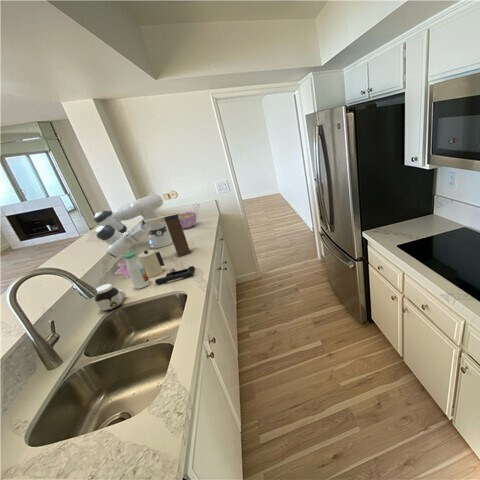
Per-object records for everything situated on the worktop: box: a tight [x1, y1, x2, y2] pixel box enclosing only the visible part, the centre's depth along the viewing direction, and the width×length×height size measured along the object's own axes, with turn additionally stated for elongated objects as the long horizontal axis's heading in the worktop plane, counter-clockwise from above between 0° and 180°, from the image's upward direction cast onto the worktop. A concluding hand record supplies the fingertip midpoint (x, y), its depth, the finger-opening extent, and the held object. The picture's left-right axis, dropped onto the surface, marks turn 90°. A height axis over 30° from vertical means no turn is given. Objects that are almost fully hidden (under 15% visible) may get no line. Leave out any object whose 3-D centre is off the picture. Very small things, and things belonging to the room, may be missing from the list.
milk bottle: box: [124, 252, 151, 290], centre depth 149 cm, size 8×8×20 cm
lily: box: [114, 259, 130, 279], centre depth 166 cm, size 12×12×10 cm
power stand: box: [164, 212, 191, 258], centre depth 185 cm, size 10×8×29 cm
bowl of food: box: [179, 211, 197, 230], centre depth 246 cm, size 20×20×12 cm
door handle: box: [154, 265, 195, 285], centre depth 159 cm, size 3×20×16 cm
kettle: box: [136, 249, 165, 278], centre depth 162 cm, size 14×9×16 cm, turn 125°
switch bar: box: [141, 212, 180, 225], centre depth 177 cm, size 3×22×3 cm, turn 125°
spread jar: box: [94, 283, 127, 312], centre depth 135 cm, size 12×11×12 cm
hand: (148, 221), depth 173 cm, fingers closed on switch bar, 3 cm apart
